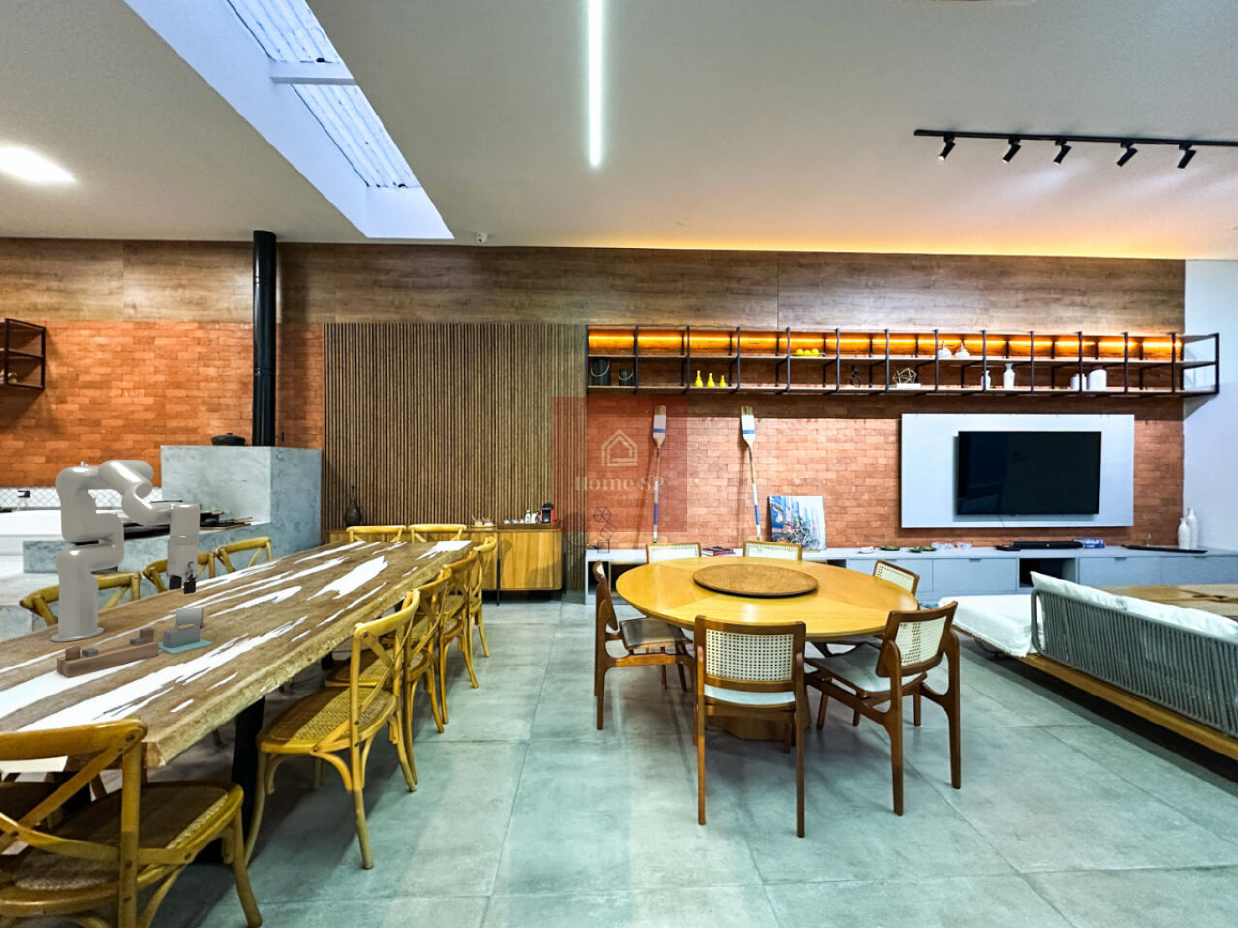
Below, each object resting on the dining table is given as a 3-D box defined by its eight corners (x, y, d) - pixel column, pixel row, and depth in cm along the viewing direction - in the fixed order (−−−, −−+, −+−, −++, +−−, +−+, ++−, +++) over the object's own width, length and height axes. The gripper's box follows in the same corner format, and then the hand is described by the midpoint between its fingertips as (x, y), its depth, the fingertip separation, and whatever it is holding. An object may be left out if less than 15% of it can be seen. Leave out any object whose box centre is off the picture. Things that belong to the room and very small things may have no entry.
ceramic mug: (203, 628, 187) (204, 608, 188) (174, 633, 182) (175, 611, 182) (202, 622, 195) (203, 602, 196) (174, 626, 190) (175, 606, 190)
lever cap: (163, 645, 168) (163, 628, 168) (192, 638, 175) (192, 622, 175) (170, 648, 165) (171, 630, 165) (199, 641, 172) (200, 624, 172)
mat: (150, 646, 169) (150, 644, 169) (190, 636, 178) (190, 635, 178) (173, 654, 161) (173, 652, 161) (213, 644, 171) (213, 642, 171)
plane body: (56, 671, 147) (57, 644, 147) (145, 650, 165) (145, 625, 165) (68, 677, 143) (69, 649, 143) (158, 655, 161) (158, 630, 161)
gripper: (158, 539, 171) (156, 589, 171) (183, 544, 163) (181, 597, 163) (185, 536, 178) (183, 585, 177) (210, 541, 170) (208, 592, 170)
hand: (182, 591), depth 170 cm, fingers open, 9 cm apart
